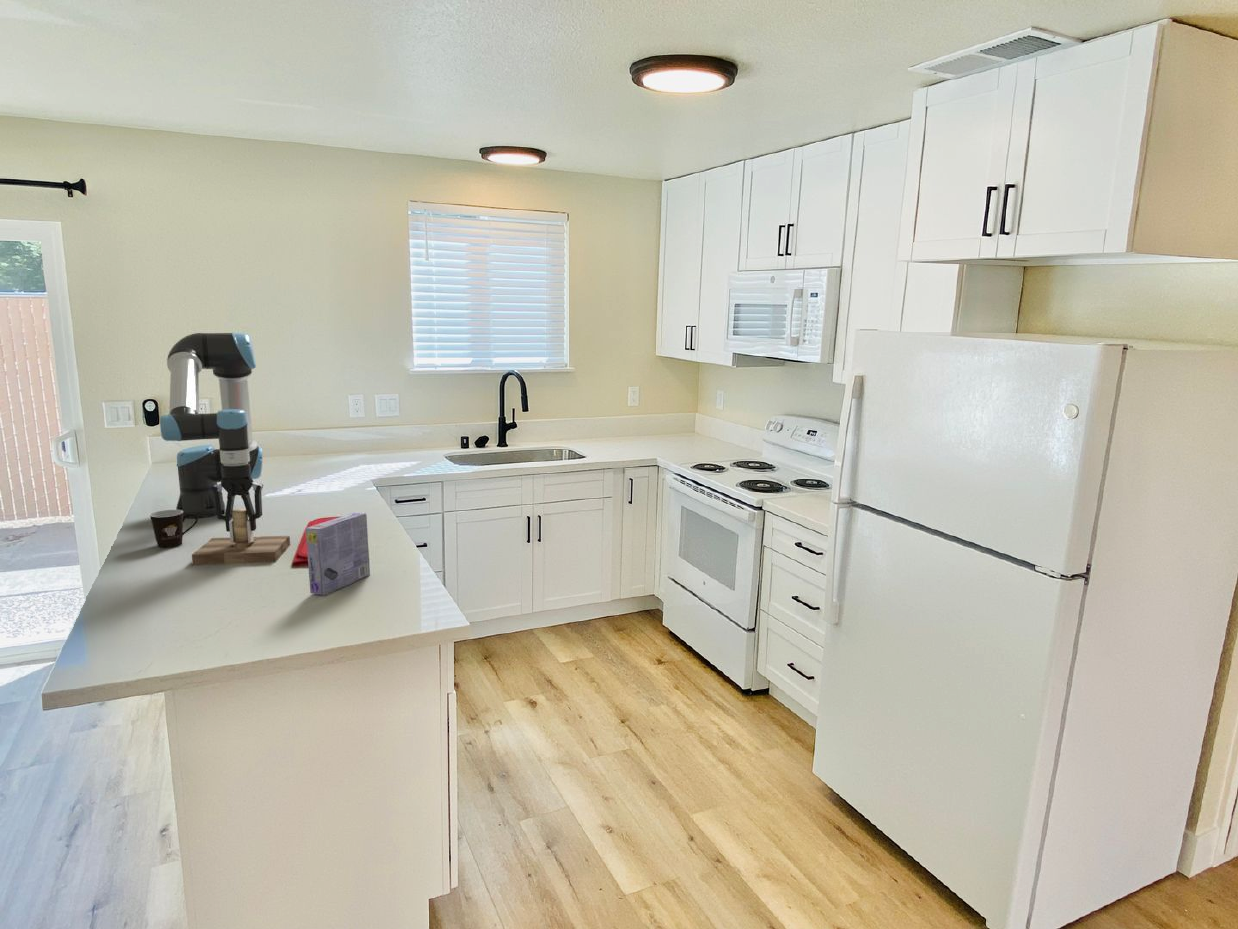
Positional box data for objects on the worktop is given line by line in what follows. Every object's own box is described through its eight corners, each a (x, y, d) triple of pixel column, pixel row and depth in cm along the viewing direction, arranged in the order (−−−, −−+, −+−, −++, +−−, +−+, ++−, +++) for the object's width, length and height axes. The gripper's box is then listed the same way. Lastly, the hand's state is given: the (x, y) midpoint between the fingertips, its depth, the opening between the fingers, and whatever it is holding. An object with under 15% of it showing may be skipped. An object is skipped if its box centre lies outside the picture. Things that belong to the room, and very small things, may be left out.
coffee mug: (149, 550, 222) (145, 518, 220) (158, 541, 230) (155, 510, 228) (193, 547, 225) (189, 515, 223) (200, 539, 234) (197, 508, 232)
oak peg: (237, 548, 221) (234, 509, 219) (252, 547, 222) (249, 508, 220) (233, 552, 217) (229, 512, 215) (248, 552, 218) (245, 512, 216)
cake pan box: (359, 571, 208) (356, 509, 205) (374, 573, 206) (370, 511, 203) (308, 594, 191) (303, 527, 187) (323, 597, 189) (319, 530, 185)
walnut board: (213, 547, 226) (212, 538, 225) (290, 545, 230) (289, 535, 229) (192, 565, 211) (191, 554, 210) (275, 562, 214) (274, 552, 214)
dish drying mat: (290, 569, 210) (289, 556, 210) (307, 528, 249) (306, 517, 248) (350, 564, 215) (349, 552, 214) (357, 525, 253) (356, 514, 252)
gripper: (198, 466, 210) (206, 546, 214) (263, 465, 212) (269, 544, 217) (208, 461, 217) (215, 538, 222) (271, 460, 220) (277, 536, 224)
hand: (242, 541), depth 219 cm, fingers closed on oak peg, 4 cm apart
